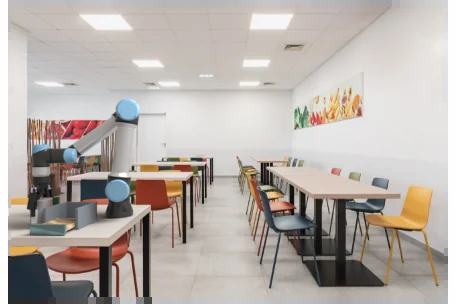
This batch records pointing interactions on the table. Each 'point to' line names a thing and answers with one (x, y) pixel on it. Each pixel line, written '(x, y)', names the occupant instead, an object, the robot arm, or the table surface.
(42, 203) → the pillar candle
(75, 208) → the cradle
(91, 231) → the table surface
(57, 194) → the beer bottle
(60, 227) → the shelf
